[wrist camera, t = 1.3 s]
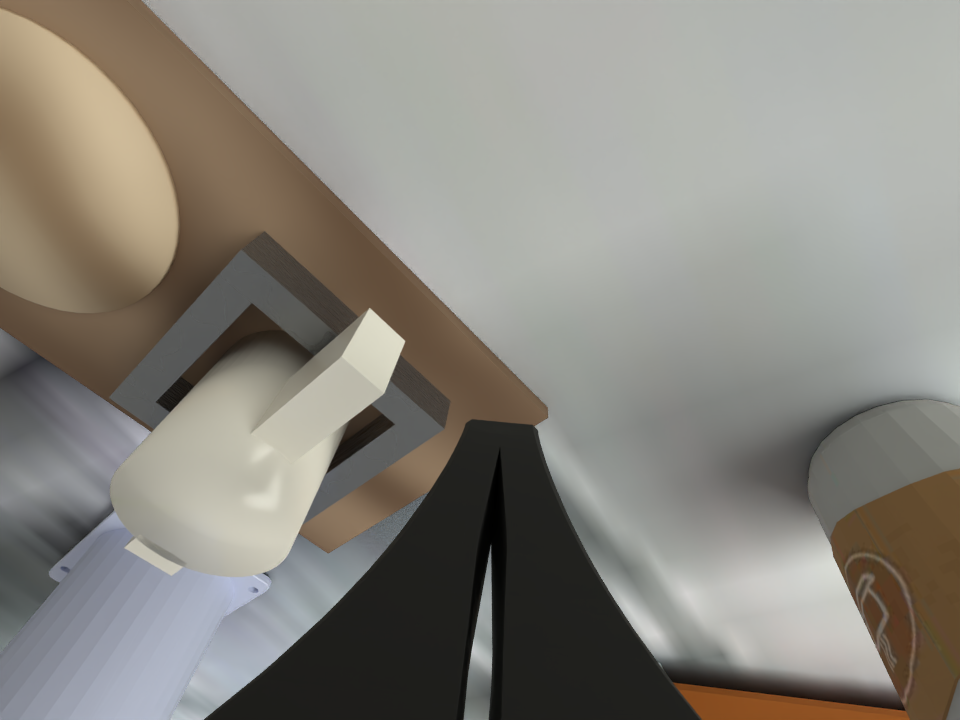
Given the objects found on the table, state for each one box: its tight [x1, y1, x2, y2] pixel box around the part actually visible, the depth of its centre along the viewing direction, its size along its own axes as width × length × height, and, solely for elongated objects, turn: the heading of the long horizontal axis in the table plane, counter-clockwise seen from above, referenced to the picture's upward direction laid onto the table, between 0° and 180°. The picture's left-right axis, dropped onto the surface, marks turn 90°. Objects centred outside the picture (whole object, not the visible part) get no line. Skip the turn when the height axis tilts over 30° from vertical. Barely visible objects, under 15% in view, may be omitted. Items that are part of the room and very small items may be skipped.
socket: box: [109, 231, 451, 525], centre depth 19 cm, size 8×8×2 cm
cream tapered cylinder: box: [110, 308, 405, 577], centre depth 17 cm, size 9×5×6 cm, turn 132°
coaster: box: [0, 7, 180, 313], centre depth 16 cm, size 9×9×1 cm
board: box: [0, 0, 548, 553], centre depth 18 cm, size 13×24×1 cm, turn 42°
